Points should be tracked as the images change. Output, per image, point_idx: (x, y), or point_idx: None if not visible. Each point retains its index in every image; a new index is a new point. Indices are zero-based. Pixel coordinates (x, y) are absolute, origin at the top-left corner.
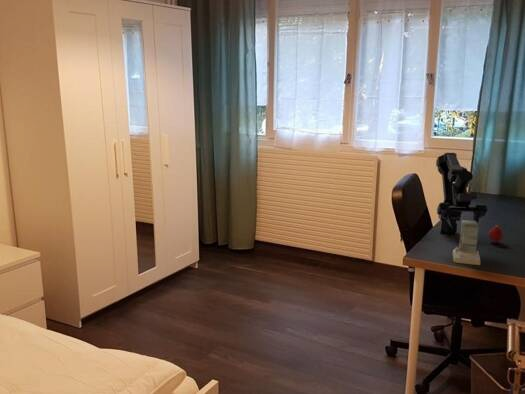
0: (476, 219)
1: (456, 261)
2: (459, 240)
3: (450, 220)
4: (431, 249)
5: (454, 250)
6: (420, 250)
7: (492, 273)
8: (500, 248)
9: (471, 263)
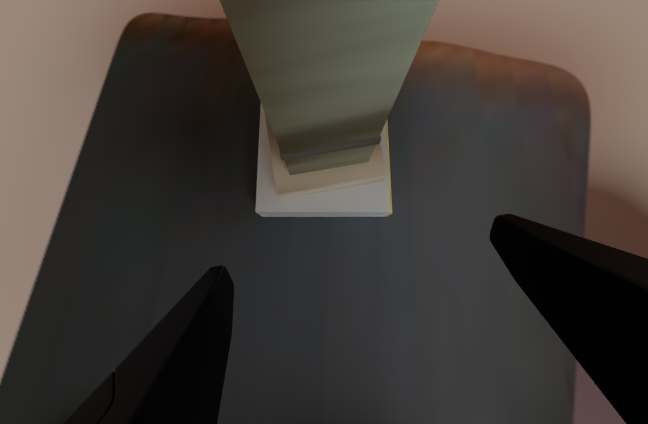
0: (151, 369)
1: None
2: (380, 136)
3: (604, 252)
4: None
5: (386, 182)
6: (553, 209)
7: None
8: None
9: None
